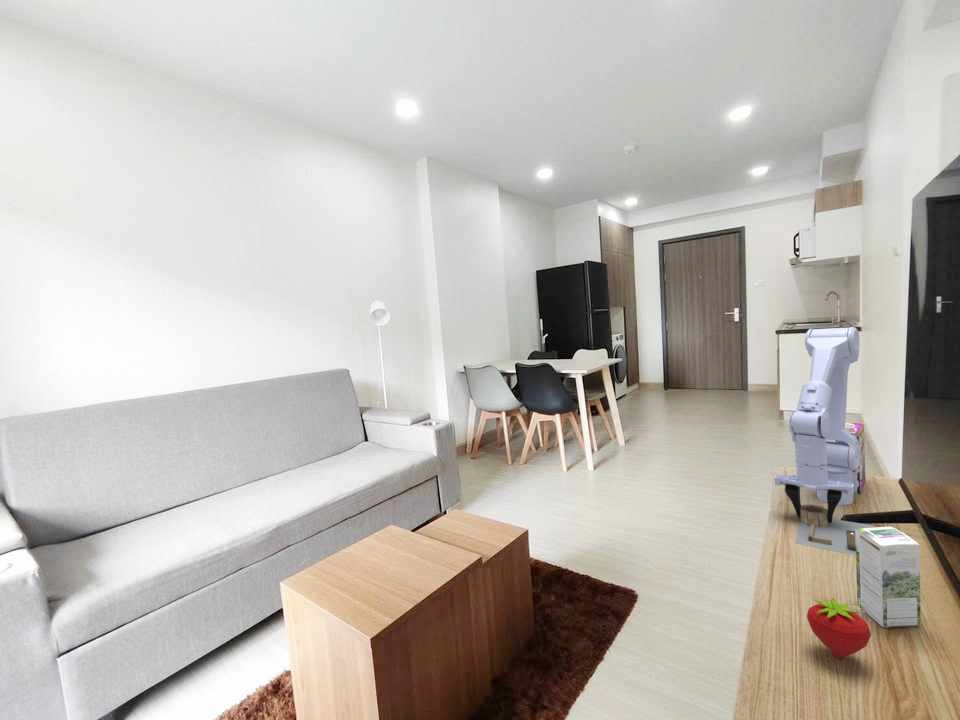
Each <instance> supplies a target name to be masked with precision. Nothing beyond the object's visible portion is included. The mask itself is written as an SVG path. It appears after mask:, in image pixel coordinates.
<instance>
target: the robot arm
mask: <svg viewBox="0 0 960 720" xmlns="http://www.w3.org/2000/svg"><path fill="white" fill-rule="evenodd" d="M860 342H861V340H860V334H859V330H858V329H857V328H856V327H855V326H850V327H835V328H834V327H833V328H832V327H831V328H809V329H808V330H807V331H806V333H805V336H804V345H805V346H804V347H805V349H806V351H807V353H808V355H809V357H811V362H810V363H811V364H810V373H809V380H808V381H807V382H805V383H803V385H802V386H801V390H800V395H799V398H798V402H797V405H796V406H797V408H796V410H795V411H792V412H791V414H790V416H789V422H788V428H789V432H790V433H791V441H792V442H793V443H794V451H795V467H796V475H795V474H794V475H792V474H791V475H790V474H786V475H785V474H775V475H774V485H775V486H781V485H782V486H785V487H784V491H785V494H786V496H788V499H789V500H790V502H791V504H792V505H793V507H794V508H793V509H794V511H795V514H796V517H797V518H800V519H801V514H800V507H801V506H802V504H801V488H804V489H806V490H812V491H816V496H817V499H818V500H819V501H821V502H823V503H826V504H827V509H828V523H832V519H833V516H834V513H835V510H836V508H837V506H848V505H852V504H854V495H855V494H854V484H853V480H852V470H855V469H857V468H858V467H859V464H860V449H859V441H858V439H857V438H856V437H855V436H853V435H852V434H850V433H849V432H848V431H846V430H845V423H846V419H847V418H846V416H847V397H848V394H847V393H848V378H849V377H848V376H849V375H848V374H849V369H850V367H851V366H850V365H851V364H853V363H856V362H858V361H859V357H860V345H861V343H860ZM827 440H829V441H827ZM830 440H831V441H830ZM836 440H838V441H844V442H846V443H847V444H845V443H837V442H836Z"/></svg>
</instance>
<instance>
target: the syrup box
mask: <svg viewBox="0 0 960 720" xmlns="http://www.w3.org/2000/svg"><path fill="white" fill-rule="evenodd" d="M855 544H856V555H855V569H856V571H855V572H856V601H857V604H858V605H860V606H859V608H860V609H861V610H862V611H863V612H864V613H866V614H867V615H868V616H869V617H870V618H872V619H873V621H875V622H876V623H877V624H878V625H880V627H882V628H884V629H889V628H909V627H910V628H911V627H920V626H921V620H922V619H921V616H922V615H921V546H920V545H921V544H919V543H918V542H917V541H916V540H914V539H913V538H912V537H910V536H908V535H907V534H906V533H904V532H902V531H901V530H898V529H897V528H895V527H894V526H893V527H892V526H881V527H880V526H879V527H876V526H875V528H862V529H855Z"/></svg>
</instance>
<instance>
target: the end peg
mask: <svg viewBox="0 0 960 720" xmlns="http://www.w3.org/2000/svg"><path fill="white" fill-rule="evenodd" d="M846 537H847V549H849V550H852V551H856V544H855V531H851V530H848V531H846Z"/></svg>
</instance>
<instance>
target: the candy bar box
mask: <svg viewBox="0 0 960 720" xmlns="http://www.w3.org/2000/svg"><path fill="white" fill-rule="evenodd" d="M845 430H846V431H848V432H849V433H850V434H852V435H853V436H855V437H856V438H857V439H858V441H859V449H860V464H859V467H858V468H857V469H855V470H852V480H853V484H854V495H861V494H862V492H863V491H862V490H863V489H864V485H865V483H866V459H865V458H866V457H865V455H866V453H865V452H866V451H865V448H866V447H865V444H866V443H865V424H864V423H856V422H845ZM835 442H837V443H845V444H847V443H846V442H844V441H838V440H835Z"/></svg>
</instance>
